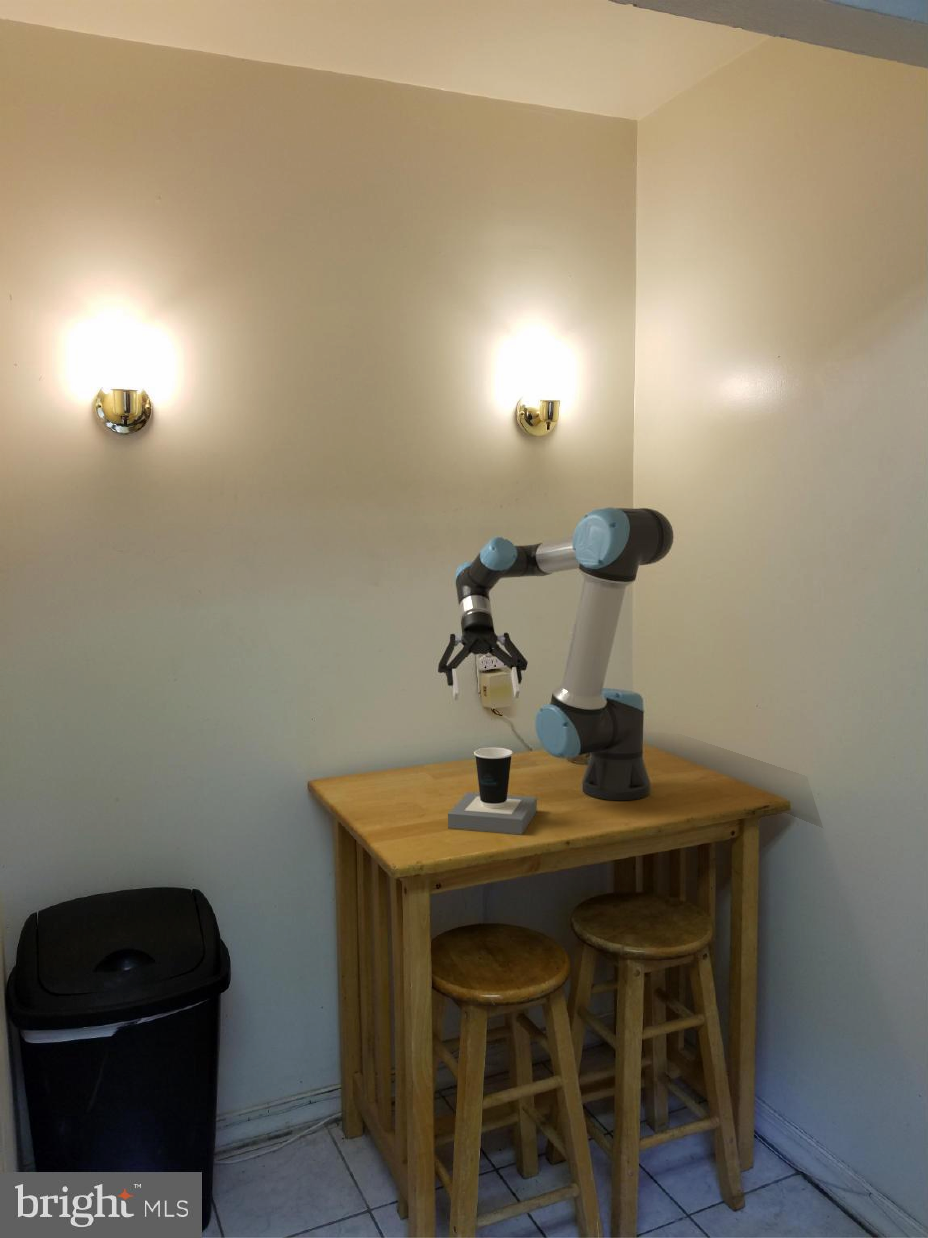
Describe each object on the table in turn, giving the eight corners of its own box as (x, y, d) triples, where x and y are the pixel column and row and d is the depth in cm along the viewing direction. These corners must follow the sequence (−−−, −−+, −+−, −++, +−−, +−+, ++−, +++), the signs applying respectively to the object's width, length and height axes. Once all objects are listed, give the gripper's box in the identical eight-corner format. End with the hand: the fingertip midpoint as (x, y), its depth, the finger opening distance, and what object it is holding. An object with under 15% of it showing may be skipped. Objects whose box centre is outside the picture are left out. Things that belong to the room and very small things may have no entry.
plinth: (536, 811, 194) (536, 796, 194) (521, 834, 180) (521, 819, 179) (468, 805, 198) (467, 791, 198) (447, 828, 184) (447, 813, 183)
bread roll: (577, 779, 230) (586, 754, 226) (554, 754, 237) (562, 729, 234) (607, 773, 236) (616, 748, 232) (583, 749, 243) (592, 724, 239)
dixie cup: (507, 797, 193) (507, 746, 192) (517, 809, 186) (517, 755, 185) (470, 800, 192) (470, 748, 191) (479, 811, 184) (478, 757, 183)
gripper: (526, 628, 221) (539, 703, 208) (422, 630, 217) (429, 706, 205) (531, 608, 215) (545, 684, 202) (424, 610, 212) (431, 687, 199)
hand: (486, 695), depth 203 cm, fingers open, 13 cm apart
